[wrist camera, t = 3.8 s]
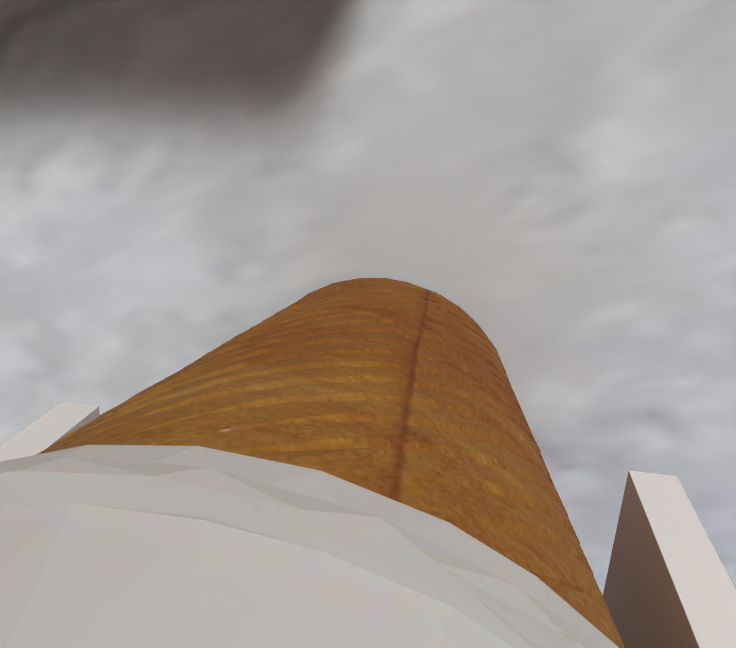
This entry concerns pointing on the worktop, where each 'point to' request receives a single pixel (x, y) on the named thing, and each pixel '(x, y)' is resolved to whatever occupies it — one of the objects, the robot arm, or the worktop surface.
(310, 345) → the disposable coffee cup
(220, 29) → the worktop surface
